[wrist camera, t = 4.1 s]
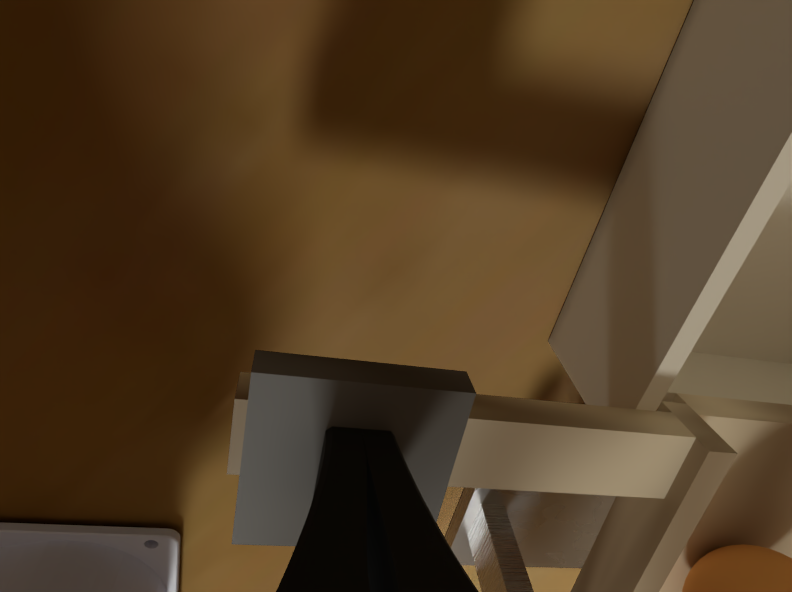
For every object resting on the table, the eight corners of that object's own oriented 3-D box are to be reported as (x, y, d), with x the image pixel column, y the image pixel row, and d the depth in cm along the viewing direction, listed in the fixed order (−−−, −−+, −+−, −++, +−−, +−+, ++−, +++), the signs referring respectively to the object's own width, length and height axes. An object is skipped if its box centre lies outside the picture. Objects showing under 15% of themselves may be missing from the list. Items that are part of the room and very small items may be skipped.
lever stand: (440, 547, 24) (471, 701, 19) (478, 452, 22) (527, 603, 16) (673, 555, 27) (755, 693, 22) (735, 470, 24) (847, 606, 19)
